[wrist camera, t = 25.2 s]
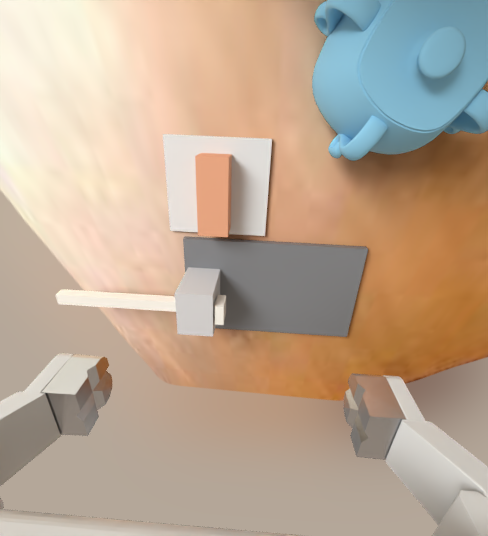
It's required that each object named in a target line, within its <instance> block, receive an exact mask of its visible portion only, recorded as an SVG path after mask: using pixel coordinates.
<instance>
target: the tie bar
mask: <svg viewBox="0 0 488 536" xmlns="http://www.w3.org/2000/svg"><path fill="white" fill-rule="evenodd" d="M56 298H57V302H58V304H65V305H81V306H96V307H111V308H127V309H142V310H157V311H173V312H176V304H175V296H161V295H145V294H129V293H113V292H97V291H81V290H64V289H62V290H60V291H59V292H58V293H57V294H56ZM214 314H215V325H224V320H225V315H226V295H218V296H217V299H215V303H214Z"/></svg>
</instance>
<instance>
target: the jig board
mask: <svg viewBox="0 0 488 536" xmlns="http://www.w3.org/2000/svg"><path fill="white" fill-rule="evenodd" d="M183 241H184V259H185V274H184V276H183V278H182V280H181V282H180V284H179V286H178V288H177V290H176V292H175V304H176V317H177V330H178V334H184V335H199V336H213V334H214V330H215V328H222V329H237V330H252V331H267V332H282V333H297V334H312V335H327V336H342V337H347V334H348V330H349V326H350V322H351V317H352V313H353V309H354V305H355V301H356V297H357V293H358V289H359V285H360V281H361V276H362V272H363V268H364V264H365V260H366V256H367V252H368V248H367V247H363V246H345V245H327V244H310V243H292V242H274V241H256V240H238V239H220V238H202V237H184V239H183ZM218 295H226V315H225V320H224V325H215V314H214V303H215V299H217V296H218Z"/></svg>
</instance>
